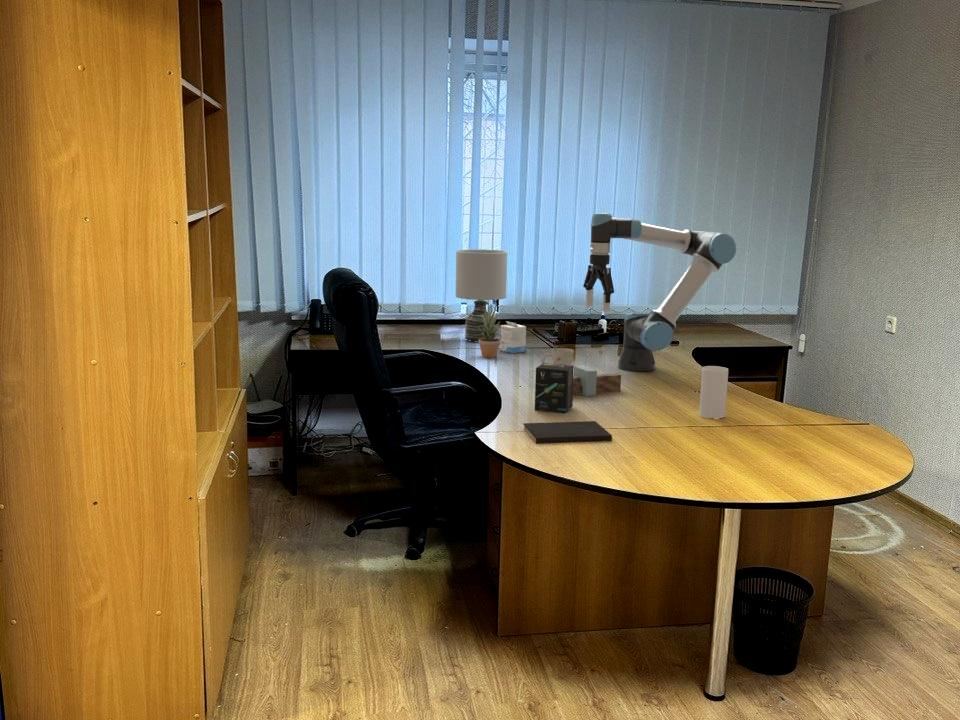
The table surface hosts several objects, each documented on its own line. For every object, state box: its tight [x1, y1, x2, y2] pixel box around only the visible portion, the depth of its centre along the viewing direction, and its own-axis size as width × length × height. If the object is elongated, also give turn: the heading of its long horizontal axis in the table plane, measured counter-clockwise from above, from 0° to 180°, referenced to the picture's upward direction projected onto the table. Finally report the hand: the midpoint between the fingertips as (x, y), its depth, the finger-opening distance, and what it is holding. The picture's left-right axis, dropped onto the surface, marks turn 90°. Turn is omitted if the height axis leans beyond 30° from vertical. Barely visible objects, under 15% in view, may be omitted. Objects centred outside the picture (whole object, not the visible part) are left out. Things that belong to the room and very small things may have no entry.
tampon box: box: [534, 362, 575, 414], centre depth 295 cm, size 11×9×15 cm
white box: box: [500, 320, 527, 354], centre depth 396 cm, size 9×8×13 cm
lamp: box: [455, 248, 508, 341], centre depth 420 cm, size 24×24×42 cm
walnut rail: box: [573, 372, 622, 396], centre depth 320 cm, size 28×3×6 cm, turn 111°
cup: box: [698, 365, 729, 419], centre depth 289 cm, size 8×8×16 cm
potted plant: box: [477, 300, 501, 358], centre depth 382 cm, size 10×10×25 cm
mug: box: [541, 347, 575, 365], centre depth 349 cm, size 8×13×10 cm, turn 78°
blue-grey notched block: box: [573, 364, 598, 397], centre depth 319 cm, size 4×10×9 cm, turn 21°
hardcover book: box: [522, 420, 613, 445], centre depth 265 cm, size 16×23×2 cm
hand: (597, 309), depth 343 cm, fingers open, 13 cm apart
